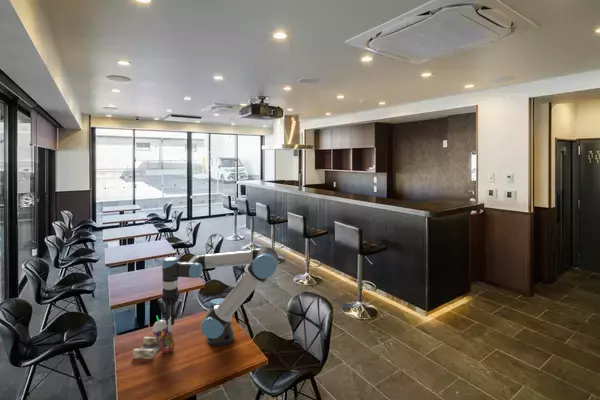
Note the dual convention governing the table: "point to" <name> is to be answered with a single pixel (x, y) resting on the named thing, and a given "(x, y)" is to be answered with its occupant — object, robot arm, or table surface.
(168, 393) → the table surface
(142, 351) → the rest
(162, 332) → the smoothie
